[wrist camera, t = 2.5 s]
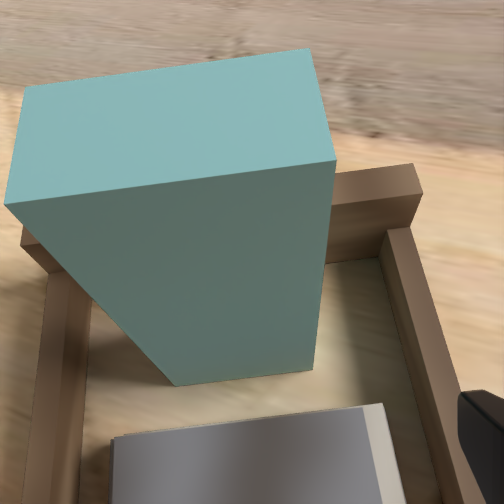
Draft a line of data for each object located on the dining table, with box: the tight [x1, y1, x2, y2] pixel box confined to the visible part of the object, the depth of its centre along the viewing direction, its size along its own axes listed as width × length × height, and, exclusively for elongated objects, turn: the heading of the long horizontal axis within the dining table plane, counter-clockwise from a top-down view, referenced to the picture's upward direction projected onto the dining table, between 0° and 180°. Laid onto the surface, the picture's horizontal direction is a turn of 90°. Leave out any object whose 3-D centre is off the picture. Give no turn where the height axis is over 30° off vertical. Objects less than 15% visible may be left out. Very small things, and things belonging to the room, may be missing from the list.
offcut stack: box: [108, 403, 407, 504], centre depth 17 cm, size 11×5×2 cm, turn 96°
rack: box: [20, 163, 486, 504], centre depth 18 cm, size 16×13×5 cm
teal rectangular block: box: [4, 48, 337, 387], centre depth 15 cm, size 6×3×14 cm, turn 96°
